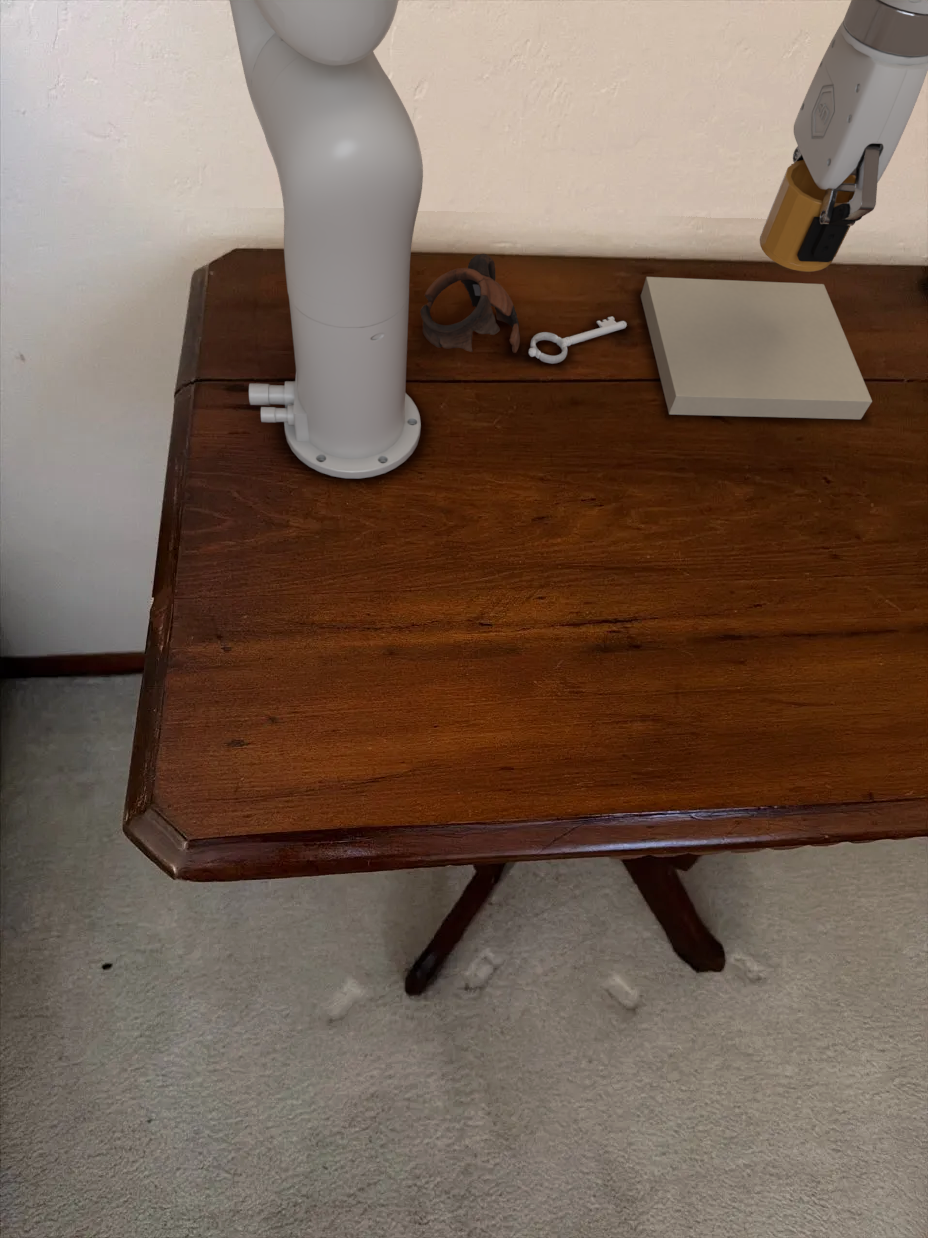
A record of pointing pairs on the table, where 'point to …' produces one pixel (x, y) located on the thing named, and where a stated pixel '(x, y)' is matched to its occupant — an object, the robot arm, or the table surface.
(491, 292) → the brown grey ring-shaped piece
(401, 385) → the robot arm
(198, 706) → the table surface
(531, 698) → the table surface
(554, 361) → the key
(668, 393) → the board
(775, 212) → the cup
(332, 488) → the table surface
